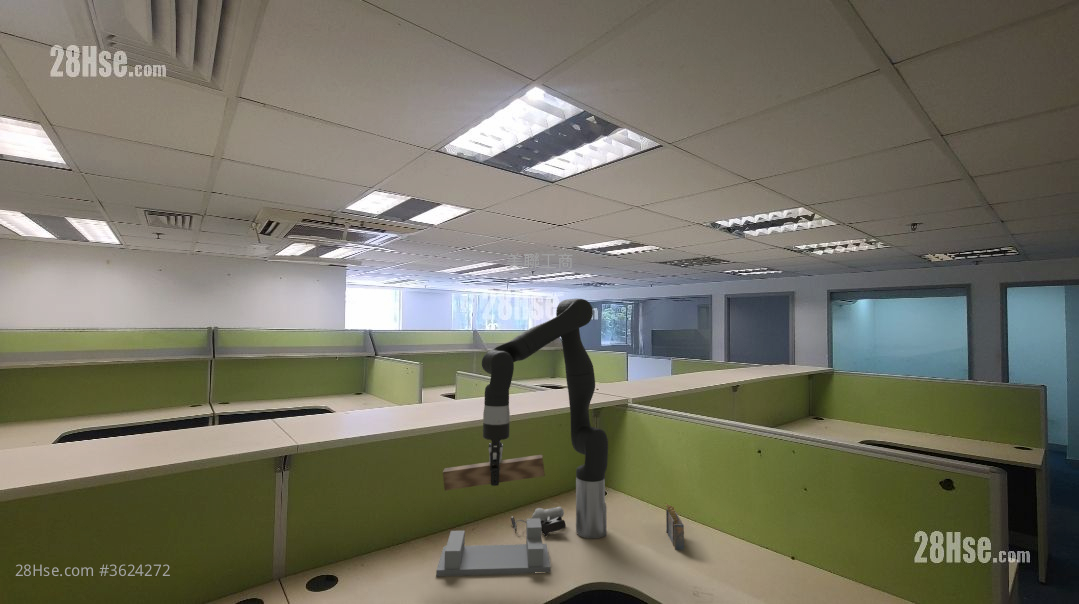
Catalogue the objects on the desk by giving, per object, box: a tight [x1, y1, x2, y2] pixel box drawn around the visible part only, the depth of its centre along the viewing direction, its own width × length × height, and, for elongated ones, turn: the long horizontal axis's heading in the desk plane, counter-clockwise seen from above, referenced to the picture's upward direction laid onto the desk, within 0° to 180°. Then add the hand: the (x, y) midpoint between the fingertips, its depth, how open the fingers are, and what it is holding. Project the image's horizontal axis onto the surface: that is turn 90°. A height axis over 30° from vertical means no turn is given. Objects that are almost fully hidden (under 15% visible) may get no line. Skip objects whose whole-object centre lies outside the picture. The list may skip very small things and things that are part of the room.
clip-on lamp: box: [510, 506, 567, 537], centre depth 143 cm, size 12×6×18 cm
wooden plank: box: [442, 454, 546, 491], centre depth 124 cm, size 28×4×5 cm, turn 93°
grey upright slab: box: [664, 502, 685, 551], centre depth 135 cm, size 11×3×10 cm, turn 176°
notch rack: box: [435, 518, 552, 577], centre depth 122 cm, size 30×13×9 cm, turn 94°
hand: (495, 482), depth 123 cm, fingers closed on wooden plank, 3 cm apart
